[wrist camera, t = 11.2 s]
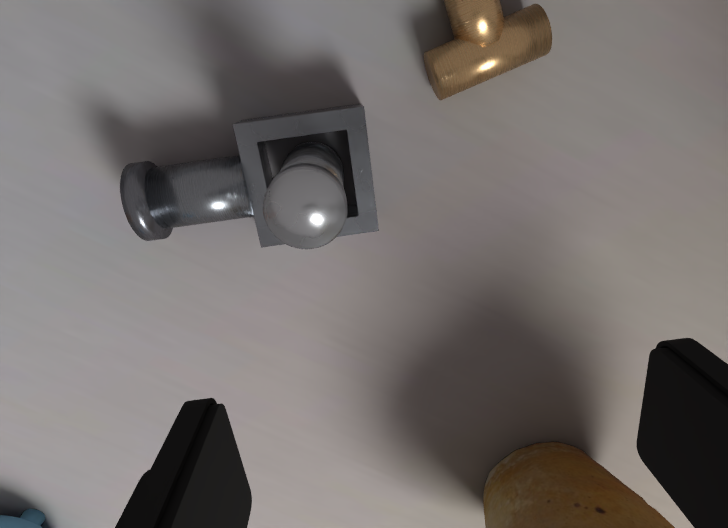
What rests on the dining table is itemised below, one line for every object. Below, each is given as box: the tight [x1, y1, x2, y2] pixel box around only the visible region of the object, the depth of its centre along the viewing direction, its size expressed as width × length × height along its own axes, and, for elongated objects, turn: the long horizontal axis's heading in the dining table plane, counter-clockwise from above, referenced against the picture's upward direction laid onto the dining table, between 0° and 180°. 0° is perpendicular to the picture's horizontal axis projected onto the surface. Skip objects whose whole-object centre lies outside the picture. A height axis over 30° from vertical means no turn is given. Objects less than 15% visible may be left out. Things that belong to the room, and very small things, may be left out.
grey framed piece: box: [120, 104, 379, 247], centre depth 29 cm, size 15×8×5 cm, turn 97°
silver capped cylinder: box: [263, 142, 347, 249], centre depth 27 cm, size 4×4×10 cm
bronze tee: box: [424, 0, 552, 100], centre depth 27 cm, size 7×6×3 cm
